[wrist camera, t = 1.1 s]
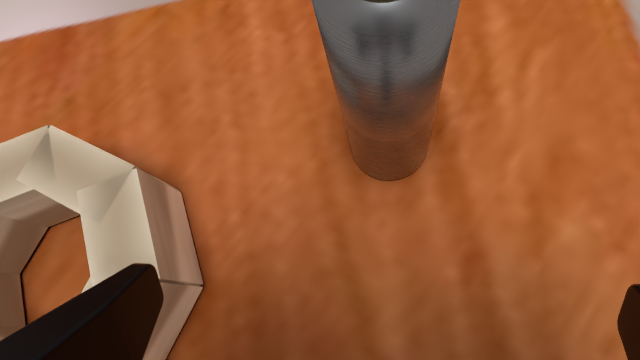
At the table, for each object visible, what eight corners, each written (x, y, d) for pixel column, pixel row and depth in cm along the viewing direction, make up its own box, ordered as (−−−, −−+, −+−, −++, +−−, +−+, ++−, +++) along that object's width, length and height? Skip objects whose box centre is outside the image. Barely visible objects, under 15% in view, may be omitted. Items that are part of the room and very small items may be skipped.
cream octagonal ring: (222, 361, 22) (180, 374, 18) (-17, 447, 22) (-114, 479, 18) (165, 131, 26) (120, 95, 22) (-36, 209, 26) (-119, 190, 22)
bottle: (440, 164, 23) (519, -77, 9) (366, 191, 23) (323, 1, 9) (410, 98, 24) (436, -209, 10) (340, 124, 24) (265, -138, 10)
